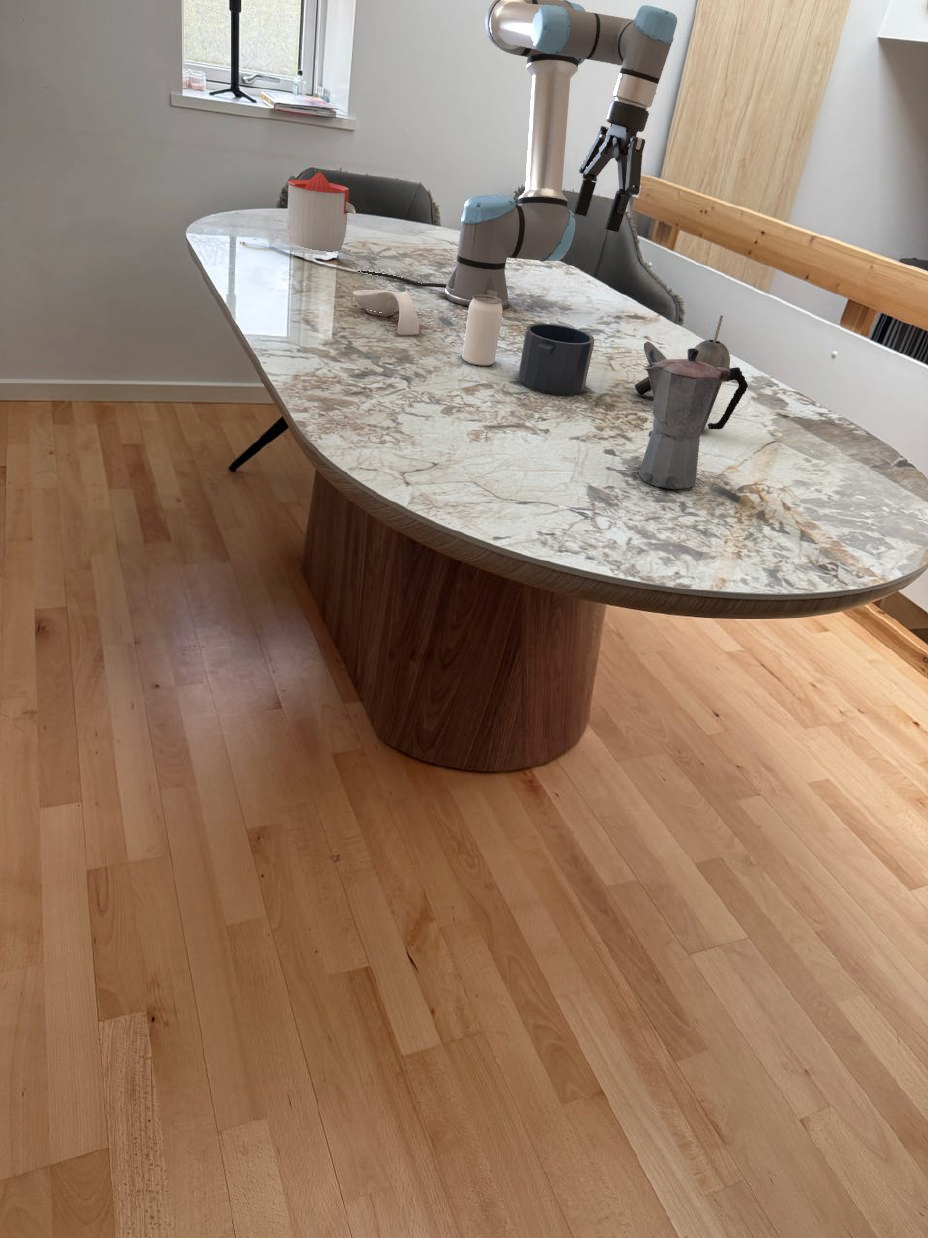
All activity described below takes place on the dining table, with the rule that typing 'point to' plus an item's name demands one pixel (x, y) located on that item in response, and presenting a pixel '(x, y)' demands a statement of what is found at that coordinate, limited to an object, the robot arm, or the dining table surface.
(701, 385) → the moka pot
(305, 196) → the citrus juicer
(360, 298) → the beige curved piece
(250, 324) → the dining table surface
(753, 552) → the dining table surface
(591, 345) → the pot
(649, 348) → the pot lid
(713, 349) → the beverage cup
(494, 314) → the can
